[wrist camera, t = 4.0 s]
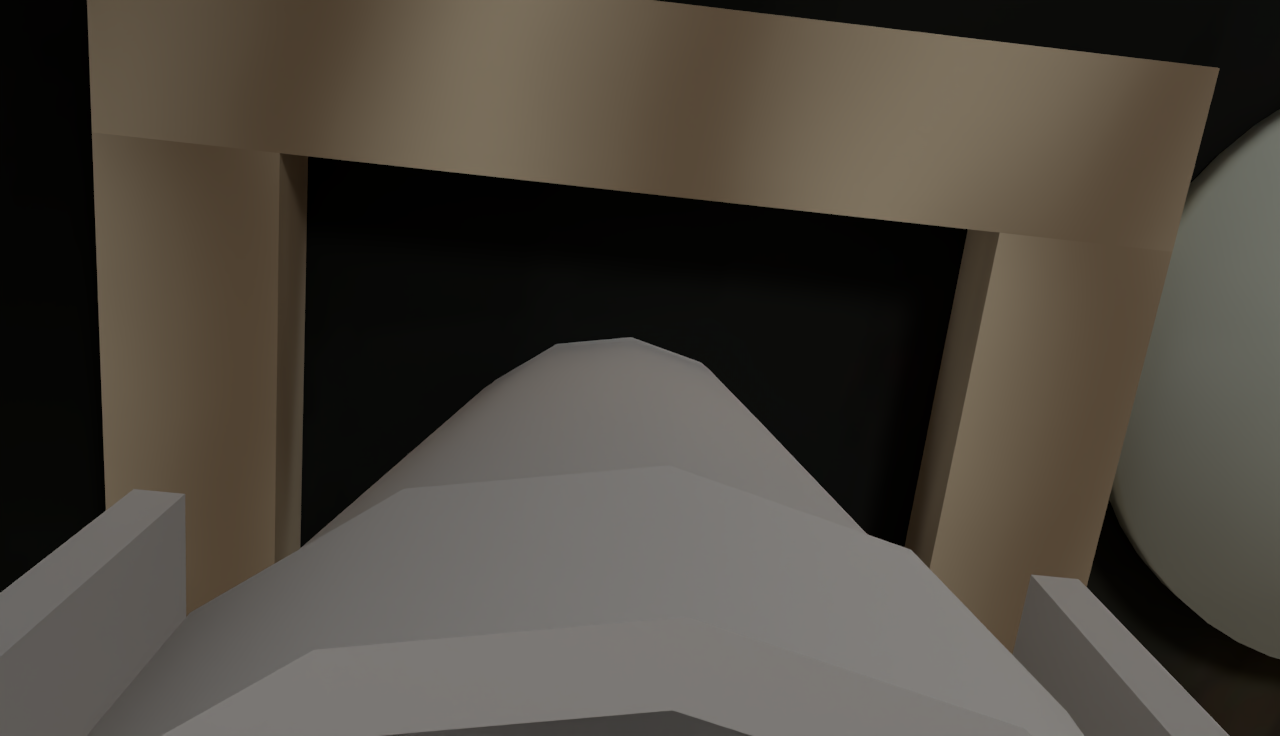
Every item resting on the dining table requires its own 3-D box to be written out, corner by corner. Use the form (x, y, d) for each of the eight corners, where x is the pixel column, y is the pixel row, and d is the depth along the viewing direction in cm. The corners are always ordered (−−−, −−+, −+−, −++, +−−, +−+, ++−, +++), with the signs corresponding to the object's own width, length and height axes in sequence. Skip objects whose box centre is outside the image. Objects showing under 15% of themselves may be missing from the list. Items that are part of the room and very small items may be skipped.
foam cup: (927, 361, 19) (1551, 903, 6) (743, 753, 21) (923, 1735, 8) (451, 183, 18) (27, 396, 5) (311, 615, 20) (-220, 1503, 7)
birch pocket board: (154, 837, 21) (120, 891, 20) (132, -54, 16) (84, -68, 15) (967, 901, 22) (991, 957, 21) (1169, 70, 17) (1219, 67, 16)
